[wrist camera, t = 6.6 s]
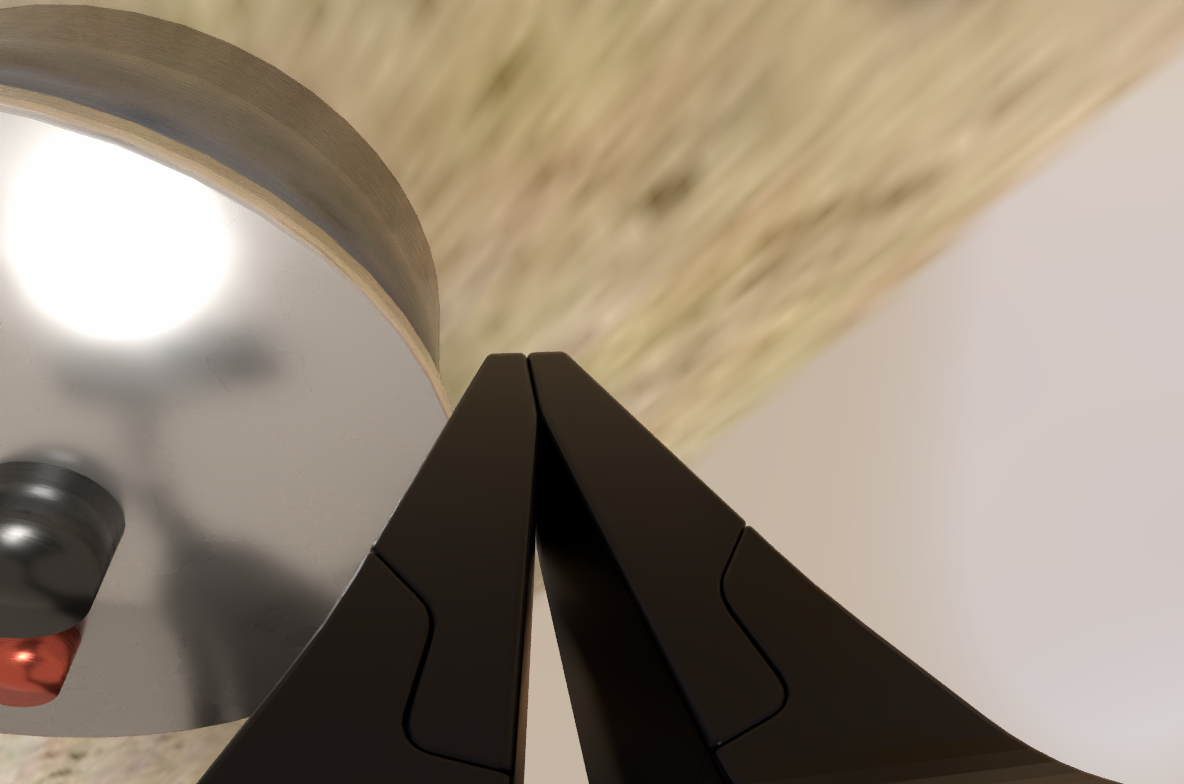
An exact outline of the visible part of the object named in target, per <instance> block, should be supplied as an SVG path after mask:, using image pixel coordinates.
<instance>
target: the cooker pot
mask: <svg viewBox="0 0 1184 784" xmlns="http://www.w3.org/2000/svg"><path fill="white" fill-rule="evenodd" d="M0 84H2V85H6V86H10V87H15V88H19V89H24V90H28V91H33V92H37V93H42V94H46V95H51V96H55V97H59V98H62V99H65V100H68V101H71V102H74V103H77V104H80V105H83V106H86V107H89V108H92V109H95V110H98V111H101V112H104V113H107V114H110V115H113V116H116V117H119V118H122V119H125V120H128V121H131V122H134V123H137V124H139V125H141V126H144V127H146V128H148V129H150V130H153V131H155V132H157V133H159V134H161V135H164V136H166V137H168V138H170V139H172V140H175V141H177V142H179V143H181V144H184V145H186V146H188V147H190V148H192V149H195V150H197V151H199V152H201V153H203V154H206V155H208V156H210V157H211V158H213V159H215V160H217V161H218V162H220V163H222V164H223V165H225V166H227V167H229V168H230V169H232V170H234V171H235V172H237V173H239V174H241V175H242V176H244V177H246V178H248V179H249V180H251V181H253V182H254V183H256V184H258V185H260V186H261V187H263V188H265V189H266V190H268V191H270V192H271V193H273V194H274V195H276V196H277V197H278V198H280V199H281V200H282V201H284V202H285V203H286V204H288V205H289V206H291V207H292V208H293V209H295V210H296V211H297V212H299V213H300V214H301V215H303V216H304V217H306V218H307V219H308V220H310V221H311V222H312V223H314V224H315V225H316V226H318V227H319V228H321V229H322V230H323V231H325V232H326V233H327V234H328V235H329V236H330V237H331V238H332V239H333V240H334V241H335V242H337V243H338V244H339V245H340V246H341V247H342V248H343V249H344V250H345V251H346V252H347V253H348V254H350V255H351V256H352V257H353V258H354V259H355V260H356V261H357V262H358V263H359V264H360V265H361V266H363V267H364V268H365V269H366V270H367V271H368V272H369V273H370V274H371V275H372V277H373V278H374V279H375V280H376V281H377V282H378V284H379V285H380V286H381V287H382V288H383V290H384V291H385V292H386V293H387V294H388V295H389V297H390V298H391V299H392V300H393V301H394V303H395V304H396V305H397V306H398V307H399V308H400V310H401V311H402V312H403V313H404V315H405V316H406V318H407V319H408V321H409V322H410V324H411V326H412V327H413V329H414V330H415V332H416V333H417V335H418V336H419V338H420V340H421V341H422V343H423V344H424V346H425V347H426V349H427V351H428V352H429V354H430V355H431V358H432V360H433V362H434V364H435V367H436V369H437V371H438V373H439V333H440V306H439V295H438V283H437V276H436V272H435V268H434V263H433V259H432V255H431V251H430V247H429V245H428V242H427V239H426V237H425V234H424V232H423V229H422V227H421V224H420V222H419V219H418V217H417V215H416V213H415V211H414V209H413V208H412V206H411V204H410V202H409V200H408V199H407V197H406V195H405V193H404V191H403V190H402V188H401V186H400V184H399V183H398V181H397V180H396V179H395V177H394V176H393V175H392V173H391V172H390V171H389V169H388V168H387V167H386V165H385V164H384V162H383V161H382V160H381V158H380V157H379V156H378V154H377V153H376V152H375V151H374V150H373V148H372V147H371V146H370V145H369V144H368V143H367V142H366V141H365V140H364V139H363V138H362V137H361V136H360V135H359V134H358V133H357V131H356V130H355V129H354V128H353V127H352V126H351V125H350V124H349V123H348V122H347V121H346V120H345V119H344V118H342V117H341V116H340V115H339V114H338V113H337V112H335V111H334V110H333V109H332V108H331V107H329V106H328V105H327V104H326V103H325V102H324V101H322V100H321V99H320V98H319V97H318V96H316V95H315V94H314V93H313V92H311V91H310V90H308V89H307V88H305V87H304V86H302V85H301V84H300V83H298V82H297V81H295V80H294V79H292V78H291V77H289V76H288V75H286V74H285V73H283V72H282V71H280V70H279V69H277V68H276V67H274V66H272V65H271V64H269V63H267V62H265V61H263V60H261V59H259V58H257V57H255V56H253V55H251V54H249V53H248V52H246V51H244V50H242V49H240V48H238V47H236V46H234V45H232V44H230V43H228V42H225V41H223V40H220V39H218V38H215V37H212V36H210V35H207V34H205V33H202V32H200V31H197V30H194V29H192V28H189V27H187V26H184V25H181V24H177V23H173V22H169V21H166V20H162V19H158V18H154V17H150V16H147V15H143V14H139V13H135V12H129V11H122V10H115V9H108V8H101V7H94V6H87V5H28V6H20V7H12V8H4V9H0Z"/></svg>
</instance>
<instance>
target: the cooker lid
mask: <svg viewBox="0 0 1184 784" xmlns="http://www.w3.org/2000/svg"><path fill="white" fill-rule="evenodd" d="M452 413H453V411H452V407H451V404H450V400H449V396H448V393H447V391H446V389H445V387H444V384H443V382H442V380H441V378H440V375H439V373H438V371H437V369H436V367H435V364H434V362H433V360H432V358H431V355H430V354H429V352H428V351H427V349H426V347H425V346H424V344H423V343H422V341H421V340H420V338H419V336H418V335H417V333H416V332H415V330H414V329H413V327H412V326H411V324H410V322H409V321H408V319H407V318H406V316H405V315H404V313H403V312H402V311H401V310H400V308H399V307H398V306H397V305H396V304H395V303H394V301H393V300H392V299H391V298H390V297H389V295H388V294H387V293H386V292H385V291H384V290H383V288H382V287H381V286H380V285H379V284H378V282H377V281H376V280H375V279H374V278H373V277H372V275H371V274H370V273H369V272H368V271H367V270H366V269H365V268H364V267H363V266H361V265H360V264H359V263H358V262H357V261H356V260H355V259H354V258H353V257H352V256H351V255H350V254H348V253H347V252H346V251H345V250H344V249H343V248H342V247H341V246H340V245H339V244H338V243H337V242H335V241H334V240H333V239H332V238H331V237H330V236H329V235H328V234H327V233H326V232H325V231H323V230H322V229H321V228H319V227H318V226H316V225H315V224H314V223H312V222H311V221H310V220H308V219H307V218H306V217H304V216H303V215H301V214H300V213H299V212H297V211H296V210H295V209H293V208H292V207H291V206H289V205H288V204H286V203H285V202H284V201H282V200H281V199H280V198H278V197H277V196H276V195H274V194H273V193H271V192H270V191H268V190H266V189H265V188H263V187H261V186H260V185H258V184H256V183H254V182H253V181H251V180H249V179H248V178H246V177H244V176H242V175H241V174H239V173H237V172H235V171H234V170H232V169H230V168H229V167H227V166H225V165H223V164H222V163H220V162H218V161H217V160H215V159H213V158H211V157H210V156H208V155H206V154H203V153H201V152H199V151H197V150H195V149H192V148H190V147H188V146H186V145H184V144H181V143H179V142H177V141H175V140H172V139H170V138H168V137H166V136H164V135H161V134H159V133H157V132H155V131H153V130H150V129H148V128H146V127H144V126H141V125H139V124H137V123H134V122H131V121H128V120H125V119H122V118H119V117H116V116H113V115H110V114H107V113H104V112H101V111H98V110H95V109H92V108H89V107H86V106H83V105H80V104H77V103H74V102H71V101H68V100H65V99H62V98H59V97H55V96H51V95H46V94H42V93H37V92H33V91H28V90H24V89H19V88H15V87H10V86H6V85H2V84H0V733H4V734H18V735H31V736H45V737H98V738H99V737H119V736H138V735H150V734H159V733H167V732H176V731H184V730H191V729H196V728H201V727H207V726H212V725H217V724H222V723H228V722H232V721H236V720H239V719H243V718H247V717H250V716H251V715H252V714H253V713H254V711H255V710H256V709H257V708H258V706H259V705H260V704H261V703H262V701H263V700H264V699H265V698H266V696H267V695H268V694H269V693H270V691H271V690H272V689H273V688H274V686H275V685H276V684H277V683H278V681H279V680H280V679H281V678H282V676H283V675H284V674H285V672H286V671H287V670H288V668H289V667H290V666H291V664H292V663H293V662H294V660H295V659H296V658H297V656H298V655H299V654H300V652H301V651H302V650H303V649H304V647H305V646H306V645H307V643H308V642H309V641H310V639H311V638H312V637H313V635H314V634H315V633H316V631H317V630H318V629H319V627H320V626H321V624H322V623H323V621H324V620H325V618H326V617H327V615H328V614H329V612H330V611H331V609H332V608H333V606H334V605H335V603H336V602H337V600H338V599H339V597H340V596H341V594H342V592H343V591H344V589H345V588H346V586H347V585H348V583H349V582H350V580H351V578H352V577H353V575H354V573H355V572H356V570H357V568H358V567H359V565H360V564H361V562H362V560H363V559H364V557H365V555H366V554H368V553H370V548H371V546H372V545H373V543H374V541H375V540H376V538H377V536H378V535H379V533H380V531H381V530H382V528H383V526H384V525H385V523H386V522H387V520H388V518H389V517H390V515H391V513H392V512H393V510H394V508H395V507H396V505H397V503H398V502H399V500H400V498H401V497H402V495H403V494H404V492H405V490H406V489H407V487H408V485H409V484H410V482H411V480H412V479H413V477H414V475H415V474H416V472H417V471H418V469H419V467H420V466H421V464H422V462H423V461H424V459H425V457H426V456H427V454H428V452H429V451H430V449H431V448H432V446H433V444H434V443H435V441H436V439H437V438H438V436H439V434H440V433H441V431H442V429H443V428H444V426H445V425H446V423H447V421H448V420H449V418H450V416H451V415H452Z"/></svg>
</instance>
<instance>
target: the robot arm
mask: <svg viewBox="0 0 1184 784" xmlns="http://www.w3.org/2000/svg"><path fill="white" fill-rule="evenodd" d="M745 526H746V522H745V521H744V520H743V519H742V518H741V517H740V516H739V515H738V514H737V513H736V512H735V511H734V510H733V509H732V508H731V507H730V506H728V505H727V504H726V503H725V502H724V501H723V500H722V499H721V498H720V497H719V496H718V495H717V494H716V493H715V492H714V491H712V490H711V489H710V488H709V487H708V486H707V485H706V484H705V483H704V482H703V481H702V480H701V479H700V478H698V476H696V475H695V474H694V473H693V472H692V471H691V470H690V469H689V468H688V467H687V466H686V465H685V464H684V463H683V462H682V461H680V460H679V459H678V458H677V457H676V456H675V455H674V454H673V453H672V452H671V451H670V450H669V449H668V448H667V447H666V446H664V445H663V444H662V443H661V442H660V441H659V440H658V439H657V438H656V437H655V436H654V435H653V434H652V433H651V432H650V431H648V430H647V429H646V428H645V427H644V426H643V425H642V424H641V423H640V422H639V421H638V420H637V419H636V418H635V417H634V416H632V415H631V414H630V413H629V412H628V411H627V410H626V409H625V408H624V407H623V406H622V405H621V404H620V403H619V402H618V401H616V400H615V399H614V398H613V397H612V396H611V395H610V394H609V393H608V392H607V391H606V390H605V389H604V388H603V387H602V386H600V385H599V384H598V383H597V382H596V381H595V380H594V379H593V378H592V377H591V376H590V375H589V374H588V373H587V372H586V371H584V370H583V369H582V368H581V367H580V366H579V365H578V364H577V363H576V362H575V361H574V360H573V359H572V358H571V357H570V356H568V355H567V354H566V353H564V352H534V353H531V354H529V355H528V357H527V358H526V356H525V355H524V354H522V353H501V354H490V355H488V356H487V358H486V359H485V360H484V362H483V364H482V365H481V367H480V369H479V370H478V372H477V374H476V375H475V377H474V378H473V380H472V382H471V383H470V385H469V387H468V388H467V390H466V392H465V393H464V395H463V397H462V398H461V400H460V402H459V403H458V405H457V406H456V408H455V410H454V411H453V413H452V415H451V416H450V418H449V420H448V421H447V423H446V425H445V426H444V428H443V429H442V431H441V433H440V434H439V436H438V438H437V439H436V441H435V443H434V444H433V446H432V448H431V449H430V451H429V452H428V454H427V456H426V457H425V459H424V461H423V462H422V464H421V466H420V467H419V469H418V471H417V472H416V474H415V475H414V477H413V479H412V480H411V482H410V484H409V485H408V487H407V489H406V490H405V492H404V494H403V495H402V497H401V498H400V500H399V502H398V503H397V505H396V507H395V508H394V510H393V512H392V513H391V515H390V517H389V518H388V520H387V522H386V523H385V525H384V526H383V528H382V530H381V531H380V533H379V535H378V536H377V538H376V540H375V541H374V543H373V545H372V546H371V548H370V553H368V554H366V555H365V557H364V559H363V560H362V562H361V564H360V565H359V567H358V568H357V570H356V572H355V573H354V575H353V577H352V578H351V580H350V582H349V583H348V585H347V586H346V588H345V589H344V591H343V592H342V594H341V596H340V597H339V599H338V600H337V602H336V603H335V605H334V606H333V608H332V609H331V611H330V612H329V614H328V615H327V617H326V618H325V620H324V621H323V623H322V624H321V626H320V627H319V629H318V630H317V631H316V633H315V634H314V635H313V637H312V638H311V639H310V641H309V642H308V643H307V645H306V646H305V647H304V649H303V650H302V651H301V652H300V654H299V655H298V656H297V658H296V659H295V660H294V662H293V663H292V664H291V666H290V667H289V668H288V670H287V671H286V672H285V674H284V675H283V676H282V678H281V679H280V680H279V681H278V683H277V684H276V685H275V686H274V688H273V689H272V690H271V691H270V693H269V694H268V695H267V696H266V698H265V699H264V700H263V701H262V703H261V704H260V705H259V706H258V708H257V709H256V710H255V711H254V713H253V714H252V715H251V716H250V718H249V719H248V720H247V721H246V723H245V724H244V725H243V726H242V728H241V729H240V730H239V731H238V733H237V734H236V735H235V736H234V738H233V739H232V740H231V741H230V743H229V744H228V745H227V746H226V748H225V749H224V750H223V751H222V753H221V754H220V755H219V756H218V758H217V759H216V760H215V761H214V763H213V764H212V765H211V766H210V768H209V769H208V770H207V771H206V773H205V774H204V775H203V776H202V778H201V779H200V780H199V781H198V783H197V784H524V769H525V749H526V728H527V709H528V688H529V667H530V647H531V628H532V608H533V588H534V568H535V537H536V545H537V551H538V557H539V562H540V567H541V571H542V576H543V580H544V585H545V589H546V594H547V598H548V603H549V607H550V611H551V616H552V620H553V625H554V629H555V634H556V638H557V643H558V647H559V651H560V656H561V661H562V665H563V670H564V674H565V679H566V683H567V688H568V692H569V696H570V701H571V705H572V709H573V714H574V719H575V723H576V727H577V732H578V736H579V741H580V745H581V750H582V754H583V759H584V763H585V768H586V772H587V776H588V781H589V784H1122V783H1119V782H1115V781H1112V780H1108V779H1105V778H1102V777H1099V776H1096V775H1093V774H1090V773H1087V772H1084V771H1081V770H1078V769H1076V768H1074V767H1071V766H1069V765H1066V764H1064V763H1062V762H1059V761H1057V760H1055V759H1053V758H1051V757H1049V756H1047V755H1046V754H1044V753H1042V752H1040V751H1038V750H1036V749H1034V748H1032V747H1031V746H1029V745H1027V744H1026V743H1024V742H1023V741H1021V740H1019V739H1018V738H1016V737H1014V736H1013V735H1011V734H1009V733H1008V732H1006V731H1005V730H1004V729H1002V728H1001V727H999V726H998V725H997V724H995V723H994V722H992V721H991V720H990V719H988V718H987V717H985V716H984V715H983V714H981V713H980V712H979V711H978V710H976V709H975V708H974V707H972V706H971V705H970V704H968V703H967V702H966V701H965V700H963V699H962V698H961V697H959V696H958V695H957V694H955V693H954V692H953V691H951V690H950V689H949V688H948V687H946V686H945V685H944V684H942V683H941V682H940V681H938V680H937V679H936V678H934V677H933V676H932V675H931V674H929V673H928V672H927V671H925V670H924V669H923V668H921V667H920V666H919V665H918V664H916V663H915V662H914V661H912V660H911V659H910V658H908V657H907V656H906V655H904V654H903V653H902V652H901V651H899V650H898V649H897V648H895V647H894V646H893V645H891V644H890V643H889V642H888V641H886V640H885V639H884V638H882V637H881V636H880V635H878V634H877V633H875V632H874V631H873V630H872V629H870V628H869V627H868V626H867V625H865V624H864V623H863V622H862V621H860V620H859V619H858V618H856V617H855V616H854V615H853V614H852V613H850V612H849V611H848V610H846V609H845V608H844V607H843V606H841V605H840V604H839V603H838V602H837V601H835V600H834V599H833V598H832V597H830V596H829V595H828V594H827V593H825V592H824V591H823V590H821V589H820V588H819V587H818V586H817V585H815V584H814V583H813V582H812V581H811V580H810V579H809V578H807V577H806V576H805V575H804V574H803V573H802V572H801V571H800V570H798V569H797V568H796V567H795V566H794V565H793V564H792V563H791V562H789V561H788V560H787V559H786V558H785V557H784V556H783V555H781V554H780V553H779V552H778V551H777V550H776V549H775V548H774V547H773V546H772V545H771V544H769V543H768V542H767V541H766V540H765V539H764V538H763V537H762V536H761V535H760V534H759V533H758V532H757V531H756V530H754V529H753V528H752V527H751V526H747V527H745Z"/></svg>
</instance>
